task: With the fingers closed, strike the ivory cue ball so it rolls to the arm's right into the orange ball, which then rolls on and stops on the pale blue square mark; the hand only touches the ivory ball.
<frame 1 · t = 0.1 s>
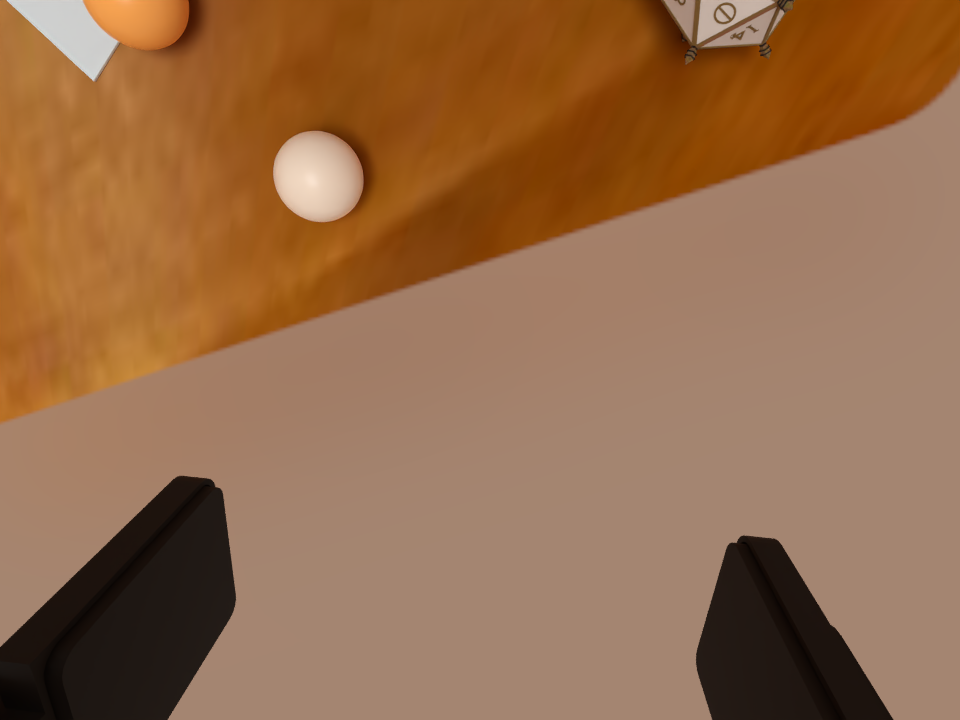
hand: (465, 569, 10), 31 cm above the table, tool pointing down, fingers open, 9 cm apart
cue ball: (319, 177, 36), on the table
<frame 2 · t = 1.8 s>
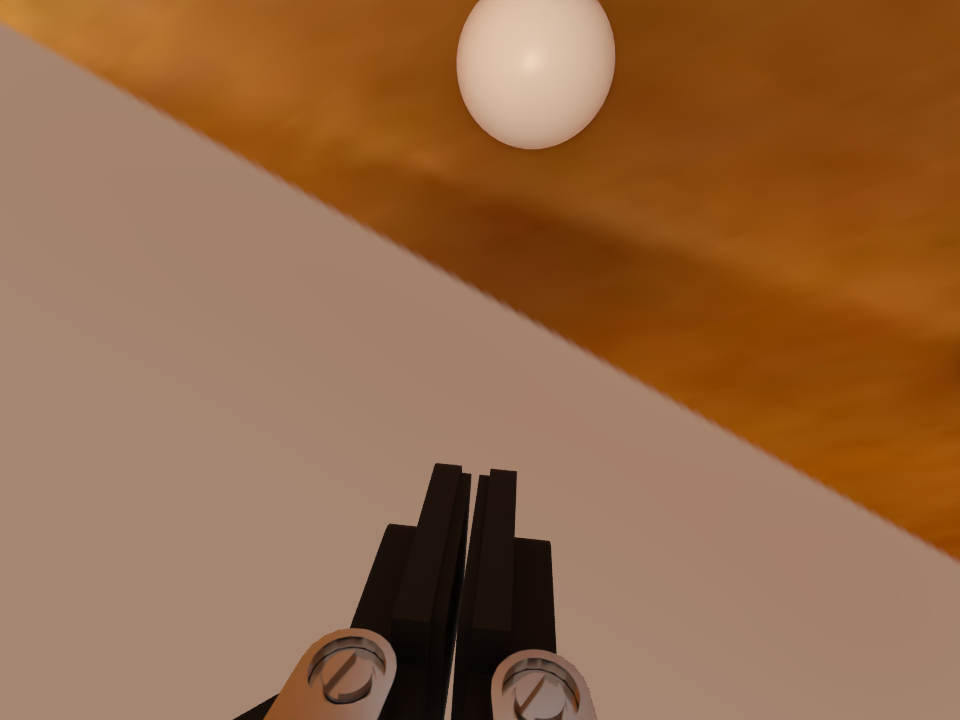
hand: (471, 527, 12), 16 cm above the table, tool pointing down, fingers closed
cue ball: (534, 65, 20), on the table
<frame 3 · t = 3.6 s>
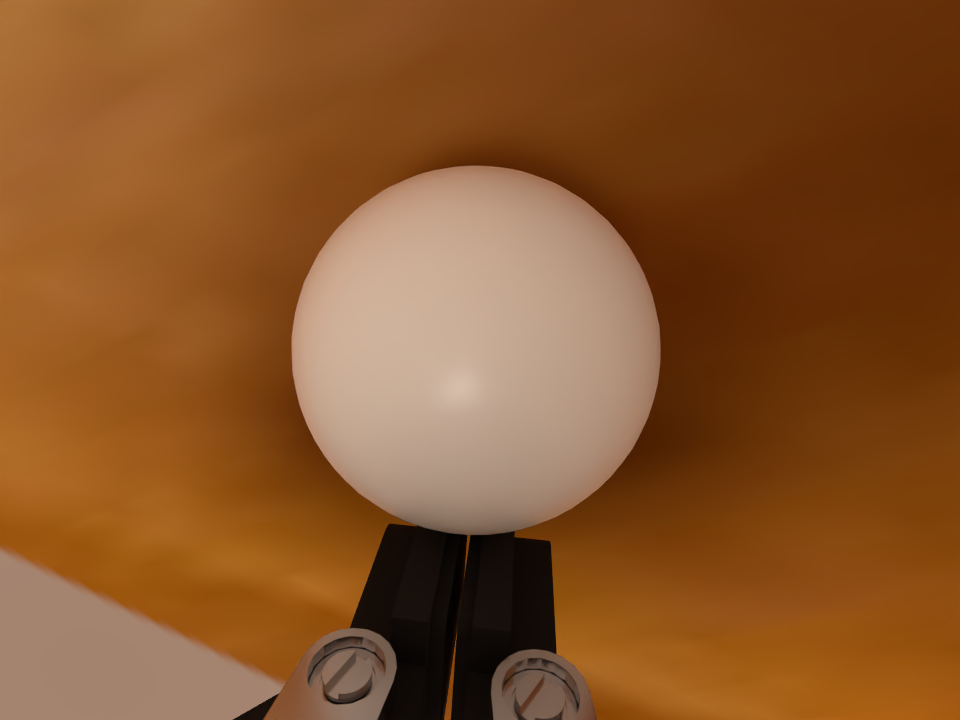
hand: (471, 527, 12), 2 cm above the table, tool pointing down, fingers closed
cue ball: (476, 351, 9), on the table
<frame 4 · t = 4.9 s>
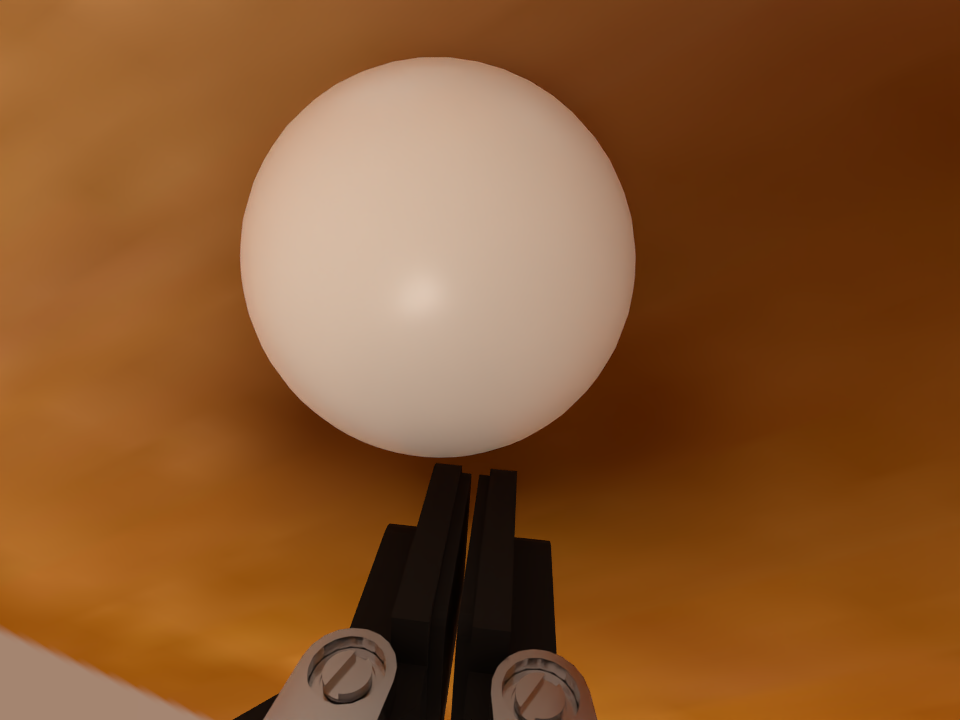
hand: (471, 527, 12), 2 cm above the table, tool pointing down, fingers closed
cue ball: (442, 268, 8), on the table
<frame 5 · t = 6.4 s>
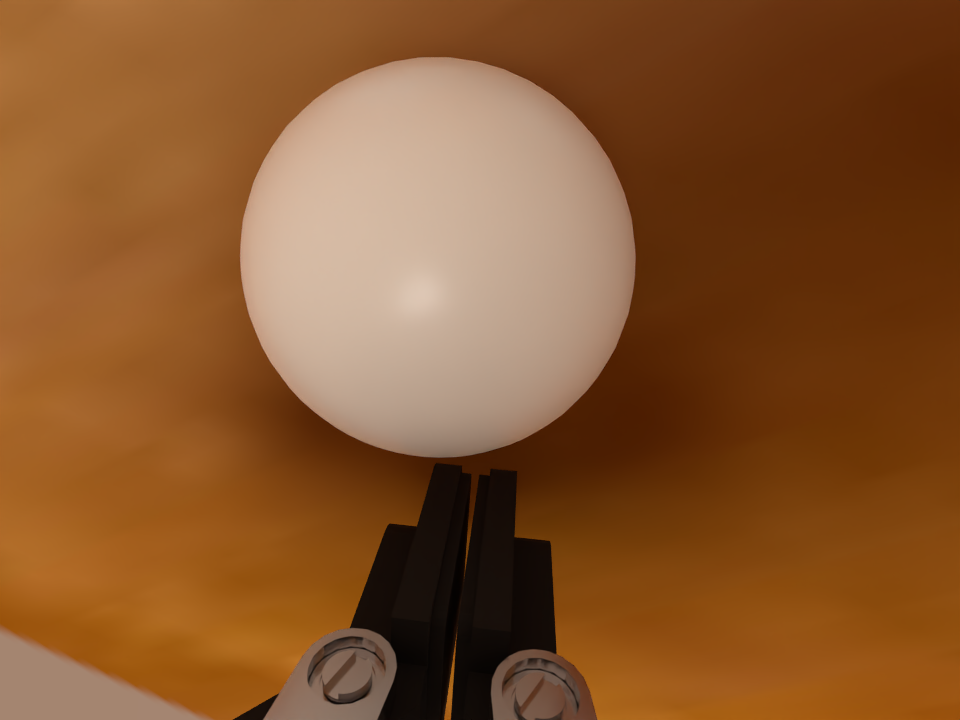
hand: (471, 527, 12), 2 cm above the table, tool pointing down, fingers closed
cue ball: (442, 268, 8), on the table
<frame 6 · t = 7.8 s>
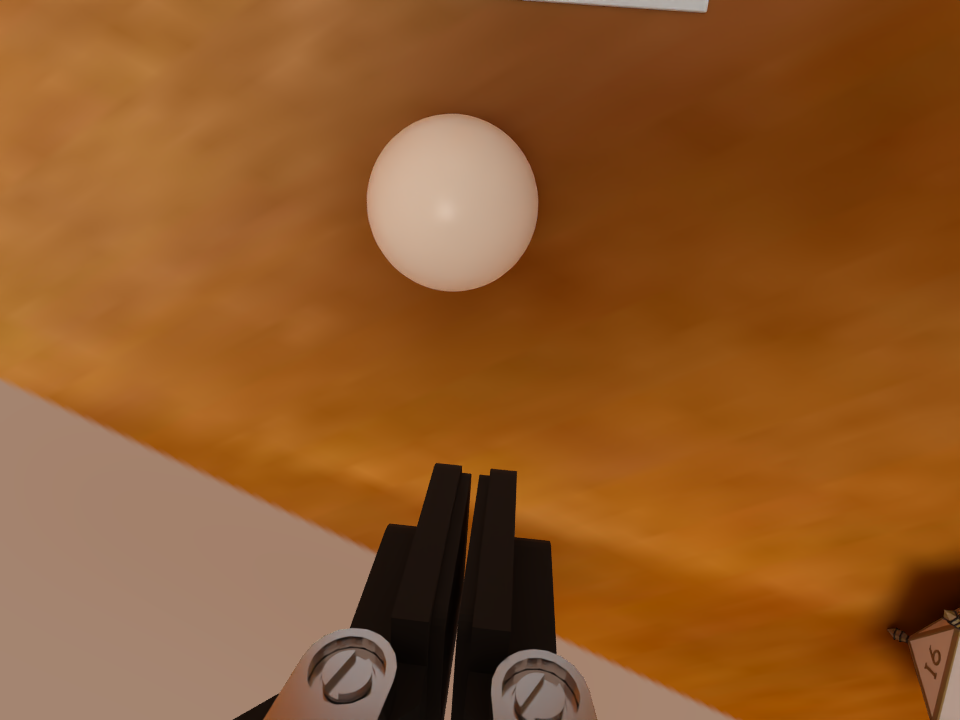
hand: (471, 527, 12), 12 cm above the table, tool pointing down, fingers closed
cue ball: (453, 206, 18), on the table
game die: (950, 613, 27), on the table
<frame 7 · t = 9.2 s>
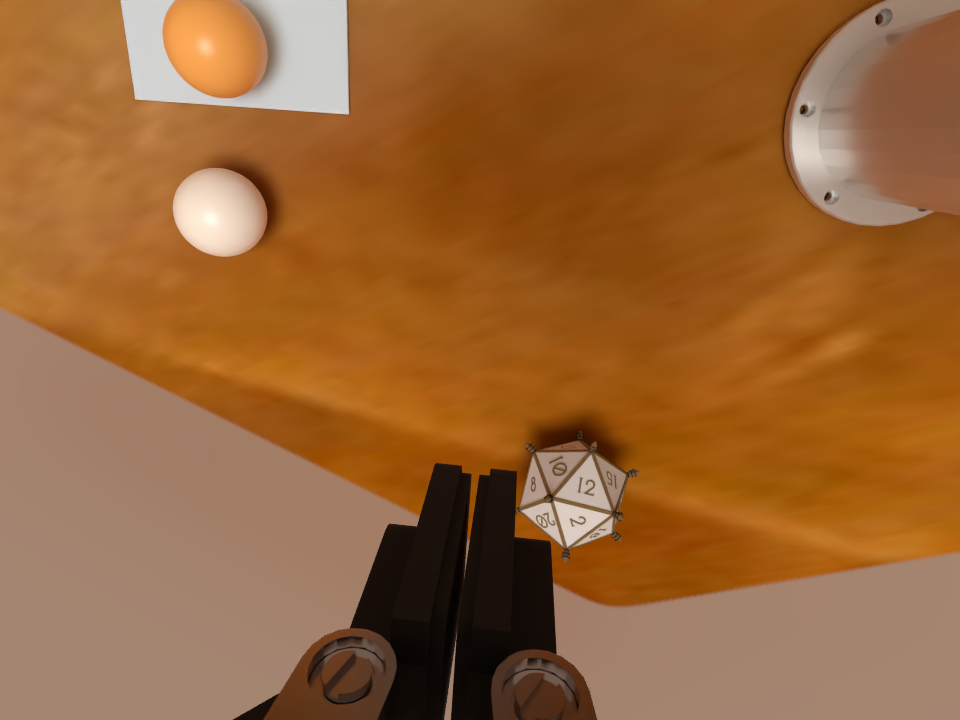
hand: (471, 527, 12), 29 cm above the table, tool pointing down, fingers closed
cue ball: (221, 213, 36), on the table
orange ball: (216, 45, 33), on the table
game die: (569, 461, 44), on the table
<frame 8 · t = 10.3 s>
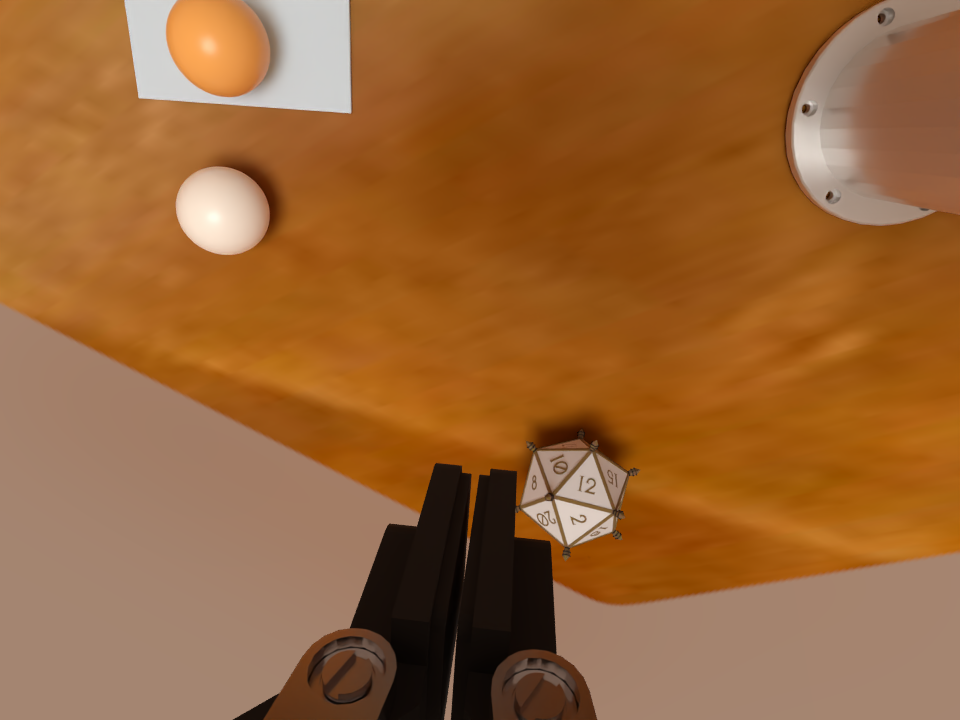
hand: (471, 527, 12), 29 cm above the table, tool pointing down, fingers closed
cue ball: (224, 211, 36), on the table
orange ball: (219, 44, 33), on the table
game die: (570, 459, 44), on the table
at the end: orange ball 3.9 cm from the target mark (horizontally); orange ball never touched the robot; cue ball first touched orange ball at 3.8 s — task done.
